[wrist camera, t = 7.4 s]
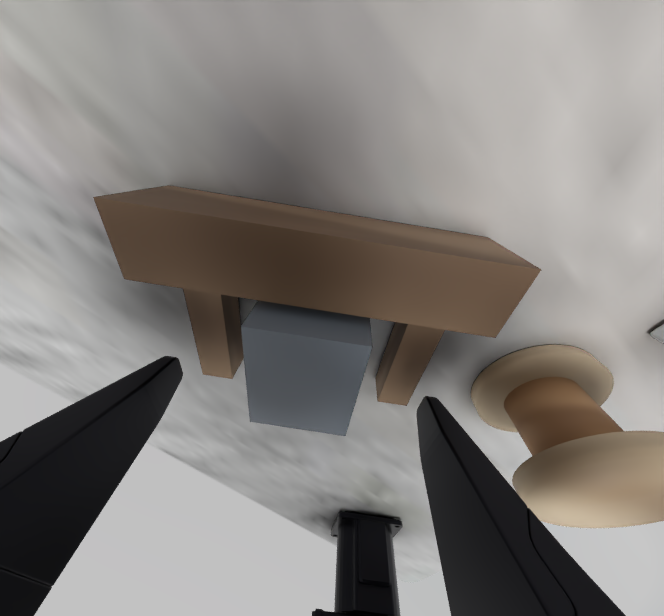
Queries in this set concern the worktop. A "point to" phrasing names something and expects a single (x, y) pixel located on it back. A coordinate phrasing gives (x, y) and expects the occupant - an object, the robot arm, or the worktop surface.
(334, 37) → the worktop surface
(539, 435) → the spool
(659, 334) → the light bulb box
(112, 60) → the worktop surface
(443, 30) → the worktop surface
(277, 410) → the blue-grey block
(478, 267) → the notched board
